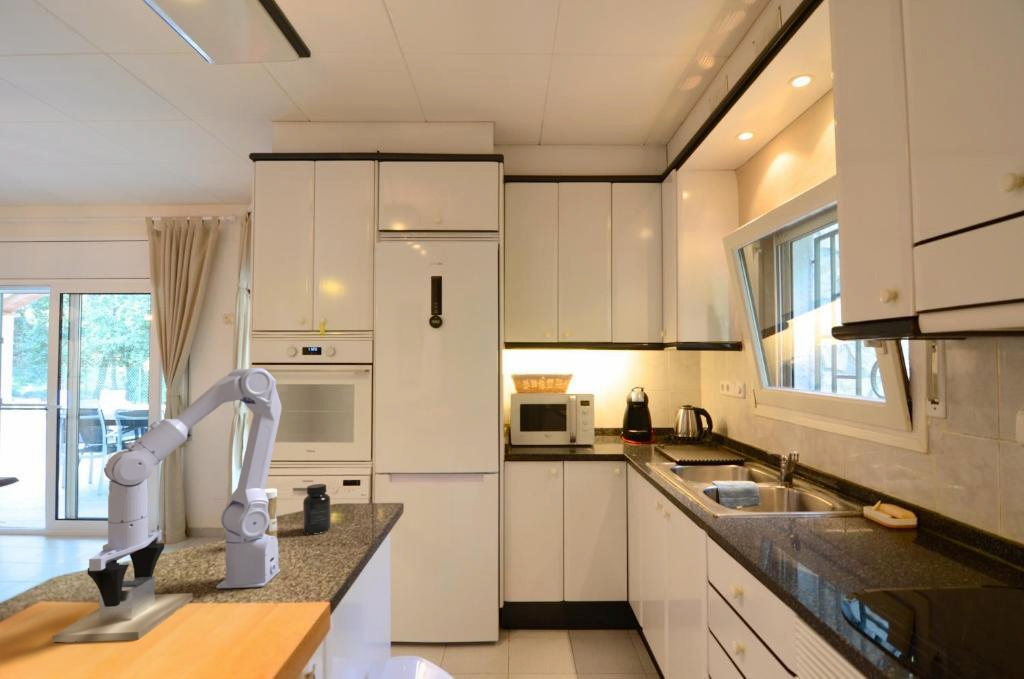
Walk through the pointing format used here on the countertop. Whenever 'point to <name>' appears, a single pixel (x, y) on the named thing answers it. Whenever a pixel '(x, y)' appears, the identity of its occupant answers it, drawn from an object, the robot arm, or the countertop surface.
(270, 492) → the sprinkles bottle
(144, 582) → the hollow square tube
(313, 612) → the countertop surface
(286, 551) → the countertop surface
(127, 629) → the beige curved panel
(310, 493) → the supplement bottle
